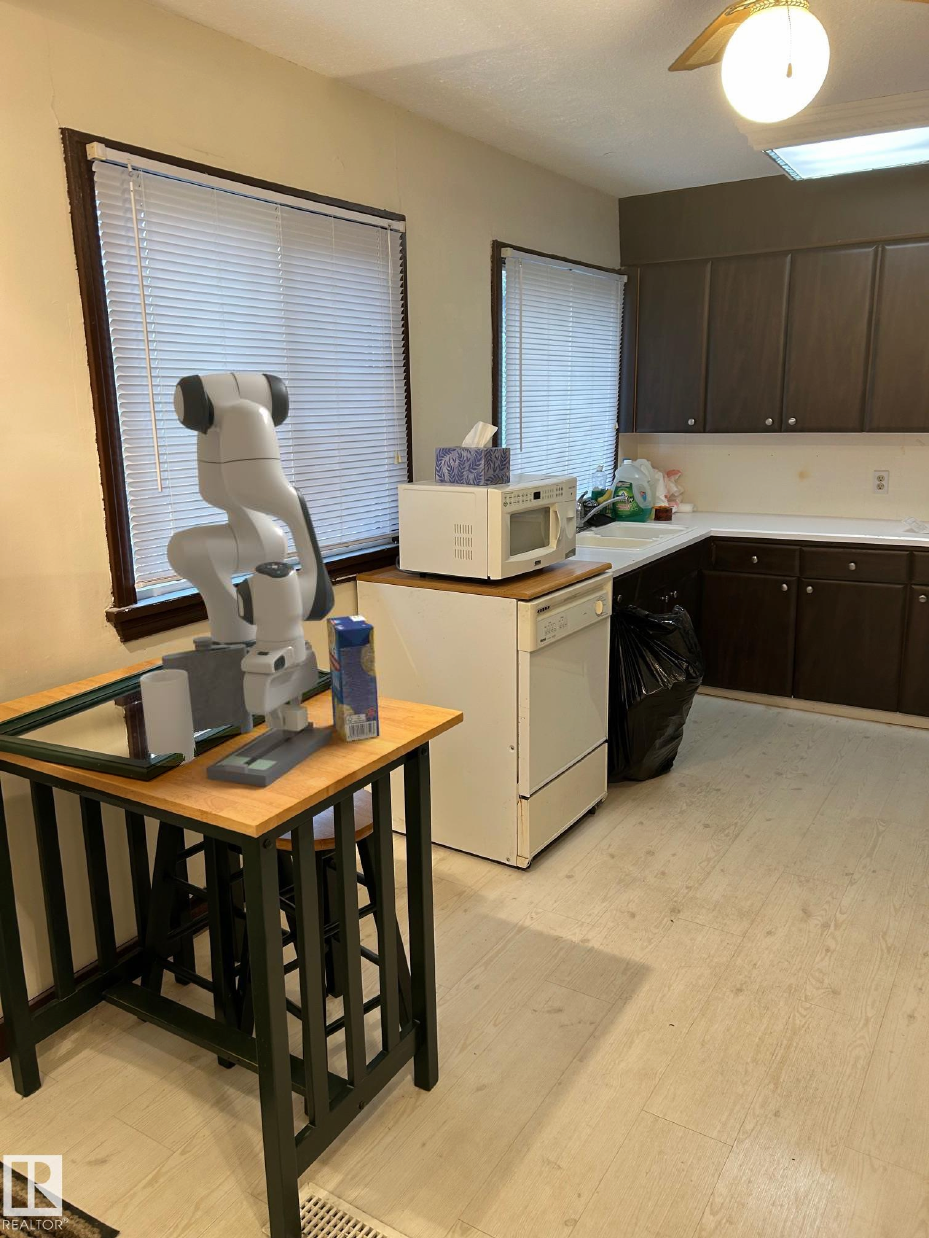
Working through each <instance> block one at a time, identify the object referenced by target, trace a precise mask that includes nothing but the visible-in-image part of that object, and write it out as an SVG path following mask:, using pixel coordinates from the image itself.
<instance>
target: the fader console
mask: <svg viewBox="0 0 929 1238" xmlns="http://www.w3.org/2000/svg"><path fill="white" fill-rule="evenodd" d="M332 730H333V729H326V728H317V727H314V722H313V721H308V725H307V726H306V727H304V728H303V729H301V730H299V731H292V732H293V735H291V736H290V737H283V729H275V728H268V729H267V730H266V731H264V732H263V733H261V734H259V735H258V736H255V737H254V738H253V739H251V740H249V741H248V742H246V743H244V744H243V745H241V746H240V747H238V748H236V749H235V750H233V751H232V752H230V753H228V754H227V755H225V756H224V757H222V758H220V759H219V760H217V761H215V762H214V763H212V764H210V765H208V766H207V767H206V768H205V769H206V770H205V771H206V779H208V780H212V781H213V780H214V781H221V782H228V783H236V784H242V785H249V786H255V787H256V786H257V787H261V788H262V787H263V788H266V787H269V785H272V784H273V783H274V782H276V781H277V780H278V779H280V778H281V777H282V776H285V774H287V773H288V772H289V771H291V770H292V769H294V768H295V767H296V766H298V765H299V764H301V763H302V762H303V761H305V760H306V759H308V758H310V756H312V755H313V754H315V753H316V752H317V751H319V750H320V749H322V748H323V747H324V746H326V745H327V744H328V743H330V742H332V741H333V731H332Z"/></svg>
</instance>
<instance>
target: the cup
mask: <svg viewBox="0 0 929 1238" xmlns="http://www.w3.org/2000/svg"><path fill="white" fill-rule="evenodd" d="M139 683H140V690H141V691H140V693H141V700H142V708H143V716H144V726H145V734H146V742H147V751H149V752H148V754H149V753H151V754H154V755H164V754H169V753H182V754H183V758H184V756H185V761H183V762H182V763H181V764H180V765H179V766H182V765H185V764H188V763H190V762H193V760H195V759H196V757H194V748H195V749H196V742H195V740H194V730H193V721H192V711H191V702H190V692H189V683H188V674H187V672H186V671H183V670H177V669H169V670H163V669H161V670H154V671H151V672H148V673H146V674H145V673H144V674H143V675H141V676H140V677H139Z"/></svg>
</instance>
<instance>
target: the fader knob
mask: <svg viewBox="0 0 929 1238" xmlns="http://www.w3.org/2000/svg"><path fill="white" fill-rule="evenodd" d="M281 706H282V710H281V711H280V712H281V715H282V716H283V717H285V722H286V724H285V725H284V726H283V727H281V728H275V727H274V726H273V718H272V717H271V716H270V714H269V713H268V714H266V715H264V720H265V728H268V729H271V728H275V729H283V737H290V736H291V735H293V732H292V731H299V730H301V729H303V728H304V727H306V726H307V725H308V722H309V715H308V714H309V712H308V706H307V705H306V706H305V705H300V706H297V705H290V704H286V703H284V704H283V705H281Z"/></svg>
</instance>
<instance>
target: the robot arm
mask: <svg viewBox="0 0 929 1238" xmlns="http://www.w3.org/2000/svg"><path fill="white" fill-rule="evenodd" d="M289 395H290V394H289V391H288V388H287V385H286V384H285V382H284V380H282V378H281V377H279V376H276V375H273V374H269V373H262V374H259V373H258V374H257V373H249V372H233V371H232V372H229V373H212V374H204V375H199V374H192V375H186V376H184V377H181V378H180V379H179V380H178V382H177V383H176V384H175V390H174V394H173V399H172V400H173V409H174V411H175V415H176V416H177V418H178V421H179V423H180V424H181V425H182V426H183V427H185V428H186V429H187V430H190V431H194V432H197V435H196V436H197V437H196V462H197V463H196V464H197V479H198V492H199V495H200V497H201V498H202V500H203V501H204V502H205V503H207V504H208V505H209V506H211V507H215V508H216V509H219V510H222V511H224V512H226V515H227V522H226V523H219V524H209V525H200V526H199V525H198V526H193V527H189V528H186V529H182V530H180V531H177V532H175V533H173V535H172V536H171V537H170V539H169V540H168V544H167V547H166V557H167V561H168V564H169V566H170V568H171V569H172V571H173V572H174V573H175V574H176V575H177V576H179V577H181V578H182V579H184V580H185V581H187V582H189V583H190V584H191V585H192V586H193V587H194V588H195V589H196V590H197V592H198V593H199V594H200V596H201V597H202V600H203V601H204V604H205V607H206V612H207V616H208V618H207V619H208V625H209V633H210V637H212V640H213V642H212V643H211V644H212V646H214V645H236V644H243V645H246V653H247V655H246V656H245V657H244V658H243V660H242V661H241V669H242V671H246V674H245V676H244V681H243V686H244V698H245V706H246V709H247V711H248V712H249V713H250V714H252V715H256V716H265V715H266V714H268V713H269V714H270V716H271V717H272V718H273V726H274V727H275V728H281V727H283V726H284V725H285V724H286V722H285V717H283V716H282V715H281V712H280V711H281V710H282V706H281V705H283V704H286V703H288V702H289V705H297V706H301V704H302V701H303V693H305V692H306V691H309V690H310V689H312V688H313V687H315V686H317V685H318V683H319V679H320V677H319V668H318V667H319V665H318V662H317V661H318V660H317V657H316V654H315V651H314V650H313V646H312V644H311V642H309V641H308V640H307V639H306V637H305V630H304V628H303V624H302V622H321V621H323V620H324V619H325V618H326V617H327V616H328V615H329V614H330V612H331V611H332V610H333V608H334V607H335V601H336V600H335V599H336V598H335V589H334V587H333V584H332V581H331V578H330V576H329V574H328V570H327V568H326V565H325V562H324V559H323V556H322V552H321V549H320V544H319V540H318V538H317V534H316V530H315V526H314V523H313V520H312V517H311V514H310V510H309V507H308V505H307V501H306V499H305V497H304V494H303V493H302V491H301V489H300V488H298V487H296V486H294V485H292V484H291V482H290V481H289V480H288V477H287V476H286V474H285V472H284V469H283V463H282V458H281V451H280V444H279V439H278V436H277V432H276V428H277V427H280V426H281V425H282V424H283V423H284V422H285V421H286V420H287V419H288V416H289V411H290V403H291V402H290V396H289ZM267 515H268V516H267ZM269 516H271V517H273V518H275V519H278V520H280V521H281V522H282V523H284V524H285V525H286V526H287V527H288V529H289V531H290V532H291V537H292V540H293V544H294V547H295V550H296V554H297V557H298V561H299V564H300V569H299V570H296V567H295V566H293V564H290V563H288V562H284V561H285V560H286V557H287V555H288V552H289V540H288V536H287V534H286V533H285V530H284V529H283V528H282V526H281V525H279V524H278V523H277V522H275V521H274V520H272V519H271V518H270V517H269ZM246 573H252V576H249V577H246V578H244V579H243V580H242V581H241V582H240V583H239V585H238V586H237V587H235V586H234V584H233V581H232V576H233V575H240V574H246Z"/></svg>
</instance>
